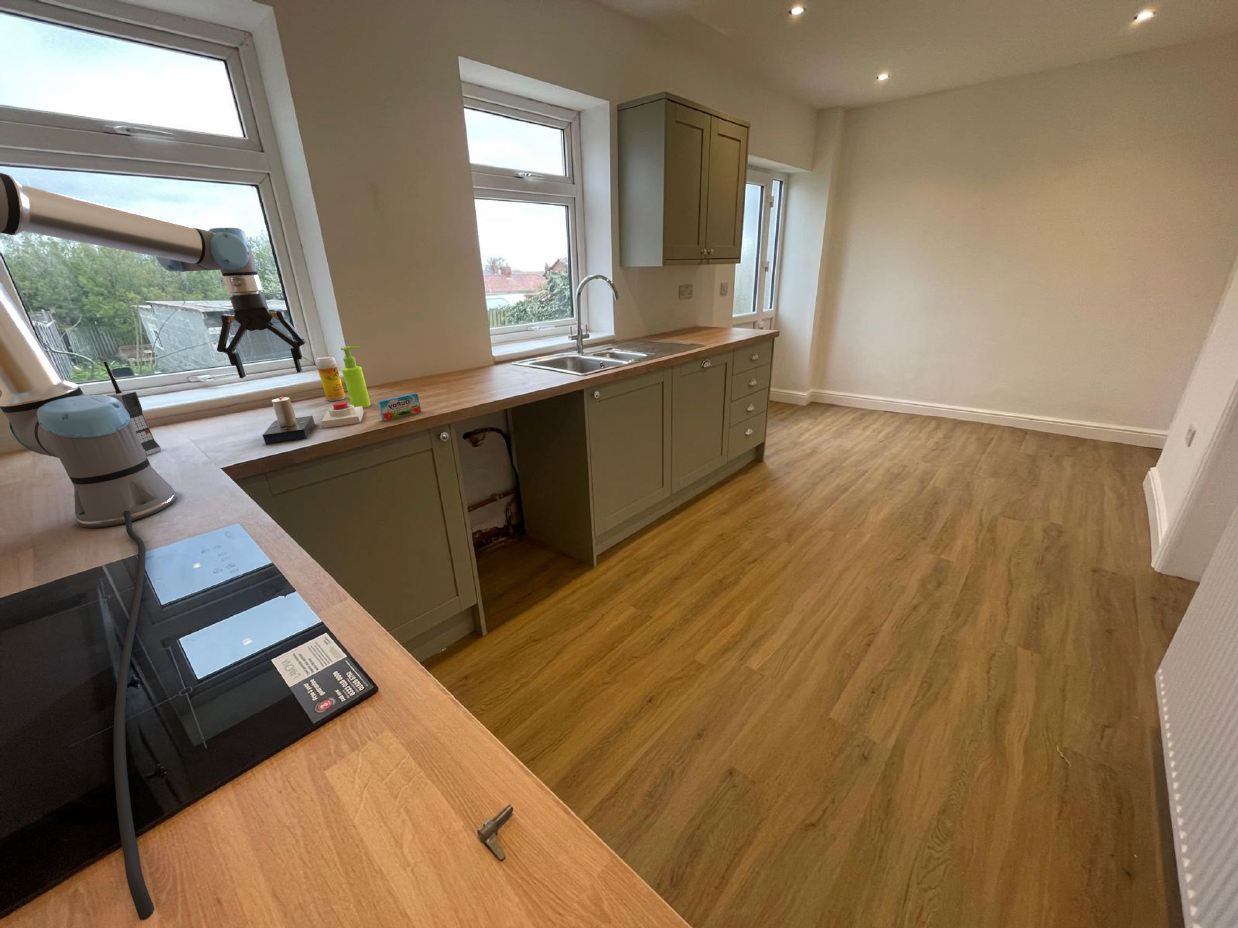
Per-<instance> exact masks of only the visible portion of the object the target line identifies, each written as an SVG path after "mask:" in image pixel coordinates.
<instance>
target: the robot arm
mask: <svg viewBox="0 0 1238 928" xmlns="http://www.w3.org/2000/svg"><path fill="white" fill-rule="evenodd" d="M22 232H24V233H29V234H34V235H35V234H36V235H41V236H47V237H50V238H51V237H52V238H58V239H61V240H67V241H72V242H78V243H83V244H88V245H93V246H99V247H104V248H109V249H115V250H119V251H125V252H131V253H135V254H141V255H147V256H152V257H155V259H156V260H157V262H158V263H159V265H160V266H161V267H162V268H163V269H165V270H166V271H168V272H181V273H185V272H202V271H220V273H221V275H222V278H223V282H224V284H225V287H226V289H227V292H228V293H229V294H231V295H229V300H230V303H231V305H232V309H233V312H234V314H227V313H224V314H222V315H221V316H220V319H221V329H220V334H219V338H218V341H217V346H216V352H218V353H224V354H226V355H227V358H228V360H229V363H230V365H231V366H232V367H235V368H236V370H237V374H238V378H239V379H244V378H246V377H247V375H246V374H247V373H246V371H245V369H244V366H243V362H242V360H241V357H240V353H239V352H238V351H237V352H236V349H237V347H238V346H239V344H240V342H241V341H242V339H243V337H244V335H246V332H247V331H250V332H253V331H265V330H268V331H270V332H272V333H273V334H274V335H276V336H277V337H279V339H281V340H283V341H284V342H285V343H287V344H288V345H290V347H291V348H289V350H290V353H291V357H292V360H293V364H294V367H295V371H296V373H301V372H302V371H303V368H302V365H301V362H300V360H302V359H303V354H302V350H301V347H302V346H304V345H305V344H306V343H307V341H306V338H304V337H303V336H302V335H301V333H300V332H299V331H298V330H297V329H296V328H295V327H294V326H293V325H292V323H291V322H290V321H289V319H288V318H287V317H286V314H285V313H284V311H283V310H277V311H274V312H273V311H272V312H271V311H270V309H269V306H268V303H267V299H266V296H265V294H264V293H262V292H263V289H264V288H263V286H262V283H261V280H260V277H259V273H258V270H257V267H256V263H255V260H254V257H253V253H252V250H251V249H252V247H251V245H250V243H249V240H248V237H247V235H246V233H245V231H244V230H243V229H241V228H239V227H210V228H209V229H208V230H205V229H201V228H196V227H193V226H189V225H184V224H182V223H178V222H177V223H176V222H173V221H169V220H165V219H161V218H157V217H153V216H149V215H145V214H141V213H137V212H133V211H130V210H125V209H121V208H116V207H113V206H108V205H105V204H100V203H97V202H94V201H93V202H92V201H89V200H85V199H81V198H77V197H73V196H69V195H65V194H62V193H61V194H60V193H57V192H53V191H49V190H45V189H41V188H36V187H32V186H28V185H24V184H20V183H19V182H18V181H17V180H16V179H15V178H14V177H13V176H11V175H9V174H7V173H3V172H0V234H3V235H4V234H5V235H8V236H16V235H18V234H21V233H22ZM273 318H274V319H276V320H277V321H279V322H280V324H281V325H282V326H283V327H284V328H285V329H286V330H287V331H288V333H289V334H290V335H291V336H292V337H293V338H292V337H291V336H290V335H288V334H287V333H286V332H284V331H283V330H281V329H280V328H279V327H278V326H277V325H275V324H274V323H273V322H272V320H273ZM234 320H235V321H236V322H237V323H238V324H239V327H238V329H237V331H236V332H235V334H234V336H233V337H232V339H231V342H230V343H229V345H228V339H229V335H230V331H231V326H232V324H233V323H234ZM227 345H228V346H227ZM0 392H1V396H0V410H2V413H3V414H4V415H5V417H6V418H7V420H8V421H7V423H8V430H9V432H10V434H11V436H12V437H13V438H14V440H16V442H18V443H19V444H20V445H22V446H23V447H24V448H25V449H28V450H30V451H32V452H34V453H36V454H39V455H43V456H49V457H53V458H58V459H59V460H60V463H61V464H62V466H63V468H64V471H65V472H66V474H67V476H68V477H69V479H70V481H71V484H72V485H73V489H74V490H73V491H74V514H75V519H76V520H77V522H78V524H79V526H81V527H82V528H86V529H87V528H88V529H96V528H97V529H98V528H99V529H100V528H107V527H113V526H118V525H119V526H120V525H123V524H124V525H125V530H126V533H127V535H128V537H129V538H130V539H131V540H132V541H134V543H136V545H137V549H138V551H137V552H138V553H137V571H136V572H137V573H136V581H135V587H134V593H133V598H132V603H131V607H130V612H129V618H128V622H127V627H126V633H125V636H124V642H123V646H122V652H121V658H120V662H119V669H118V677H117V684H116V691H115V692H116V693H115V702H114V715H113V771H114V772H113V774H114V785H115V786H114V787H115V789H114V790H115V798H116V799H115V800H116V810H117V820H118V821H117V822H118V828H119V836H120V843H121V848H122V854H123V861H124V869H125V876H126V882H127V886H128V888H129V893H130V895H131V899H132V901H133V905H134V907H135V910H136V912H137V916H138V918H139V920H140V921H146V920H148V919H149V918H150V917H151V916H152V915H153V913H154V912H155V907H154V904H153V901H152V898H151V896H150V893H149V891H148V888H147V887H148V886H147V885H146V882H145V878H144V874H143V870H142V864H141V859H140V853H139V847H138V843H137V838H136V832H135V826H134V819H133V818H134V817H133V811H132V803H131V793H130V785H129V777H128V764H127V745H126V743H127V742H126V741H127V740H126V715H127V712H126V711H127V694H128V682H129V674H130V673H129V672H130V668H131V659H132V653H133V647H134V641H135V635H136V629H137V624H138V619H139V615H140V609H141V602H142V597H143V592H144V591H143V590H144V583H145V575H146V546H145V542H144V541H143V539H142V538H141V537H140V536H138V535H137V534H136V533H135V532H134V528H133V523H132V522H134V521H137V520H140V519H143V518H147V517H149V516H151V515H153V514H156V513H159V512H161V511H163V510H165V509H167V508H168V507H170V506H171V505H172V504H173V503H175V502H176V501H177V499H178V495H177V493H176V491H175V489H174V488H173V486H172V485H171V484H169V483H168V481H166V479H165V478H164V477H162V475H160V474H159V473H158V471H156V470H155V469H154V467H152V465H151V463H150V461H149V458H148V455H146V454H145V451H144V449H143V447H142V445H141V442H140V440H139V438H138V436H137V433H136V431H135V429H134V427H133V424H132V422H131V420H130V415H129V413H128V412H127V410H126V409H125V408H124V406H123V404H122V403H121V402H120V401H119V400H117V399H116V398H113V397H110V396H107V395H104V394H96V395H91V394H87V395H86V394H84V392H83V390H82V389H81V387H80V386H79V384H78V383H75V382H72V381H69V380H66V379H64V378H63V377H62V375H61V374H60V372H59V370H58V369H57V367H56V366H55V364H54V363H53V361H52V360H51V358H50V357H49V355H48V353H47V351H46V350H45V349H44V347H43V346H42V344H41V342H40V341H39V339H38V338H37V336H36V335H35V333H34V331H33V330H32V328H31V327H30V325H29V324H28V321H26V318H25V317H24V316H23V314H22V312H21V311H20V309H19V308H18V307H17V305H16V303H15V302H14V300H13V298H12V297H11V295H10V294H9V293H8V290H7V289H6V287H5V286H4V284H3V283H2V281H1V280H0Z"/></svg>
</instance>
